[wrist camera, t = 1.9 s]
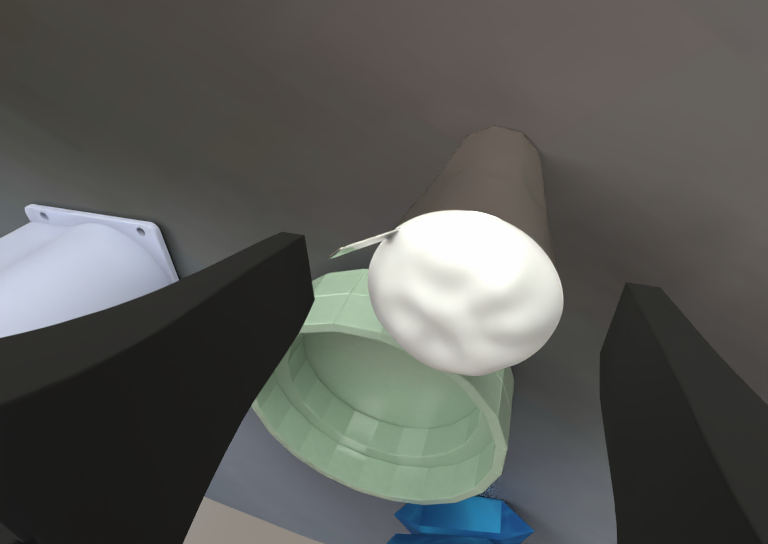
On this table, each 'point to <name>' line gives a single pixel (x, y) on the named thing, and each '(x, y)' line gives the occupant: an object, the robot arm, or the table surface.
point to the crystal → (461, 523)
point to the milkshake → (471, 261)
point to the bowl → (383, 406)
